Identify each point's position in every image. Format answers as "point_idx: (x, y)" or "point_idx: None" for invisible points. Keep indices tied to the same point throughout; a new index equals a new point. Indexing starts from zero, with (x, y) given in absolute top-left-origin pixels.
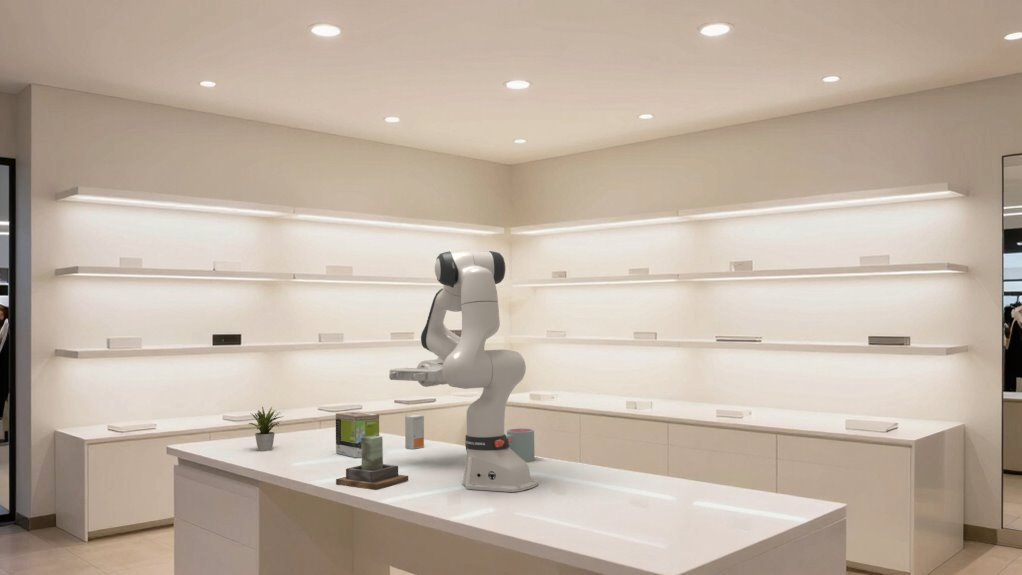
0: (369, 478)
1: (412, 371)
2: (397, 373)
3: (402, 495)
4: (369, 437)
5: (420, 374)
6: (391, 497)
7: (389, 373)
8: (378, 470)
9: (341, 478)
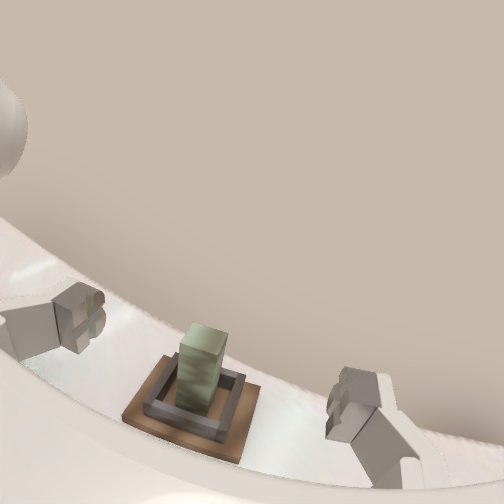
0: None
1: (122, 428)
2: (389, 475)
3: (111, 331)
4: (208, 334)
5: (25, 304)
6: (125, 323)
7: None
8: (170, 363)
9: (253, 391)
